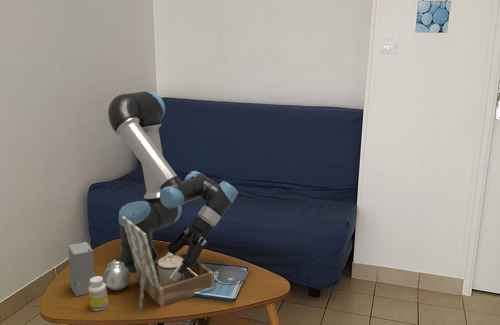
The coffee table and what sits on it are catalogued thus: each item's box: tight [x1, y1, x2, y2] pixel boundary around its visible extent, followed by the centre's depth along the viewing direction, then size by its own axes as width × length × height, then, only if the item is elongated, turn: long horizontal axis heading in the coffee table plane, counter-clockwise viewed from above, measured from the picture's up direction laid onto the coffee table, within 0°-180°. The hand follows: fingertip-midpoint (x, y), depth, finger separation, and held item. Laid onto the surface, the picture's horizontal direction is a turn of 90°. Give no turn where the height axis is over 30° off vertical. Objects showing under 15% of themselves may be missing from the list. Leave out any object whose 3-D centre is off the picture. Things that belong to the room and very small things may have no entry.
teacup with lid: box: [157, 253, 185, 287], centre depth 161 cm, size 12×9×12 cm
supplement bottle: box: [88, 275, 109, 311], centre depth 148 cm, size 5×5×10 cm
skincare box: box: [67, 241, 95, 297], centre depth 158 cm, size 8×7×16 cm
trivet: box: [215, 265, 248, 283], centre depth 167 cm, size 12×12×1 cm
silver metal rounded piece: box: [103, 259, 131, 291], centre depth 159 cm, size 9×10×10 cm
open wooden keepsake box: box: [122, 216, 215, 312], centre depth 157 cm, size 20×27×26 cm
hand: (166, 274), depth 159 cm, fingers closed on teacup with lid, 9 cm apart
